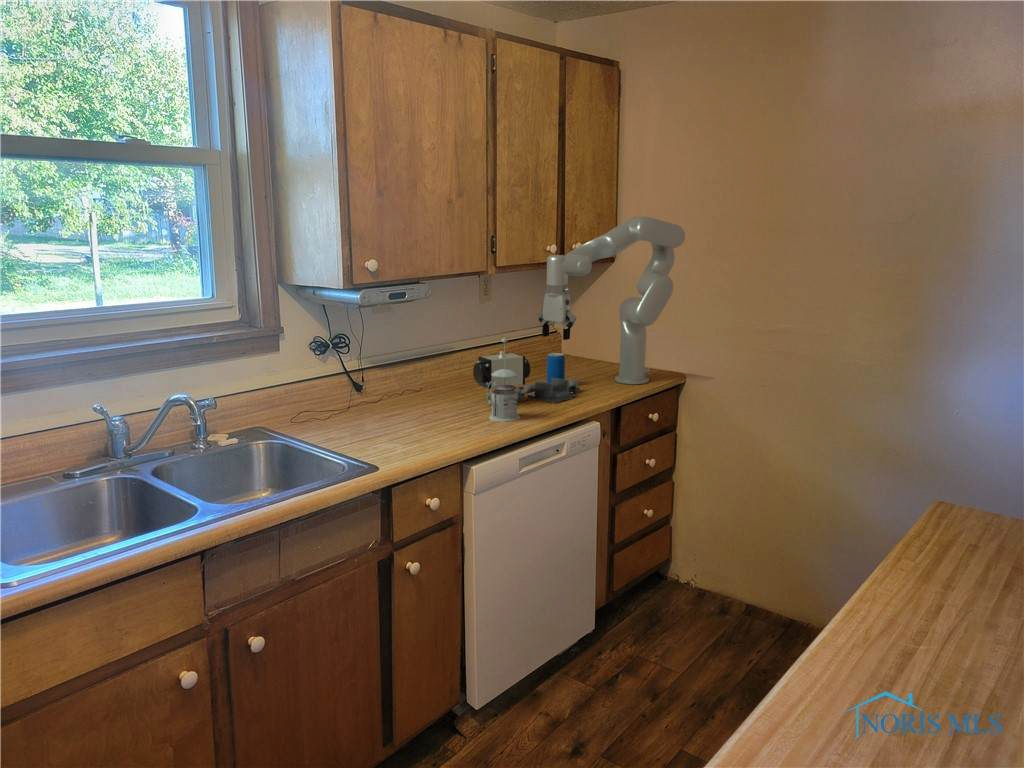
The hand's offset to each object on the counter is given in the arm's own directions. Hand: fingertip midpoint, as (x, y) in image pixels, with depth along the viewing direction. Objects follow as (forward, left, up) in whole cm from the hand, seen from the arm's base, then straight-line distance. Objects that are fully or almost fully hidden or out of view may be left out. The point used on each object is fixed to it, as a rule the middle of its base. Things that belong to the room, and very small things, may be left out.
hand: (555, 337), depth 274 cm
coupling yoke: (+13, +9, -18) cm, 24 cm away
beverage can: (0, 0, -18) cm, 18 cm away
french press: (+45, +16, -18) cm, 51 cm away
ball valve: (+32, +3, -18) cm, 37 cm away
